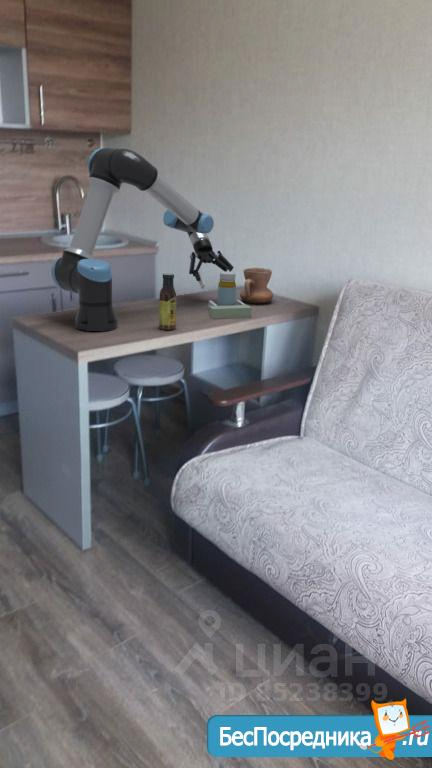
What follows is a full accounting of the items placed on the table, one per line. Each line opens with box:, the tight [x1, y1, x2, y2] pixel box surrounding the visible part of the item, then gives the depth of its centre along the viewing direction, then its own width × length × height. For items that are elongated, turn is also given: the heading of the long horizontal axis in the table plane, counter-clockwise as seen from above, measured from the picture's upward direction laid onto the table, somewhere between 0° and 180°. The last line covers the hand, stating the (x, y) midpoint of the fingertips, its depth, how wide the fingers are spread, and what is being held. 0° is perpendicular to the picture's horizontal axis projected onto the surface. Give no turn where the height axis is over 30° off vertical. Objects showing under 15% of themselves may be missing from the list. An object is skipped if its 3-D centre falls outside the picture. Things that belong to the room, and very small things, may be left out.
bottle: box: [216, 271, 237, 306], centre depth 242 cm, size 7×7×15 cm
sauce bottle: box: [158, 272, 178, 331], centre depth 217 cm, size 7×6×20 cm
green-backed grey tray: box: [207, 299, 252, 320], centre depth 242 cm, size 16×13×4 cm
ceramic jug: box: [239, 267, 274, 305], centre depth 263 cm, size 18×14×14 cm
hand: (217, 286), depth 248 cm, fingers open, 13 cm apart
